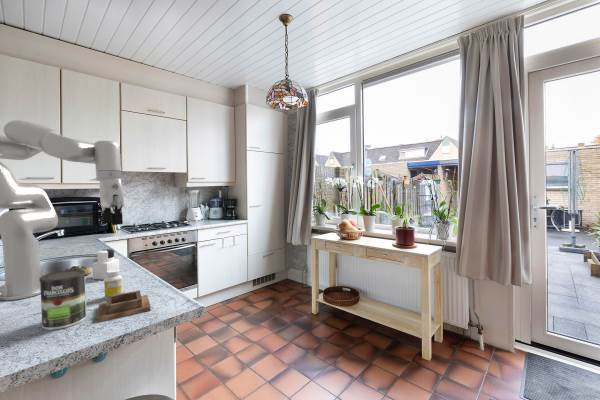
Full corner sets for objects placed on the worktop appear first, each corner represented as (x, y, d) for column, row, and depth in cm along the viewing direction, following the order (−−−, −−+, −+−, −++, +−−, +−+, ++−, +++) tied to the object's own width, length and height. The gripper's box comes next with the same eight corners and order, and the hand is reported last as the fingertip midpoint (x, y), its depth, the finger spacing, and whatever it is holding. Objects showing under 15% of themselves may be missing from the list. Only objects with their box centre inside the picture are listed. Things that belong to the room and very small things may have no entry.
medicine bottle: (106, 274, 127) (105, 248, 127) (120, 274, 126) (119, 248, 126) (92, 279, 120) (91, 251, 120) (107, 279, 119) (106, 252, 119)
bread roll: (54, 279, 120) (56, 267, 121) (73, 274, 131) (74, 263, 132) (82, 279, 121) (83, 267, 122) (98, 275, 132) (99, 264, 133)
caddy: (96, 322, 82) (96, 309, 82) (99, 307, 92) (98, 296, 92) (150, 310, 89) (150, 299, 89) (147, 298, 99) (147, 287, 99)
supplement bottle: (120, 298, 99) (119, 272, 98) (102, 300, 97) (101, 273, 97) (124, 293, 104) (123, 268, 104) (108, 295, 102) (107, 269, 102)
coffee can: (81, 325, 80) (79, 277, 79) (34, 333, 76) (32, 282, 75) (91, 311, 89) (89, 267, 89) (50, 317, 85) (48, 271, 84)
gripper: (130, 174, 97) (133, 223, 98) (113, 177, 108) (116, 221, 109) (104, 174, 91) (108, 226, 92) (89, 177, 102) (93, 224, 103)
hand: (112, 223), depth 100 cm, fingers open, 9 cm apart
